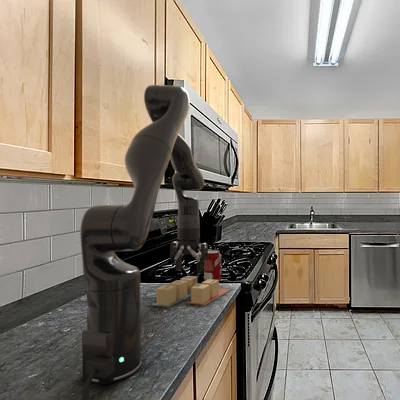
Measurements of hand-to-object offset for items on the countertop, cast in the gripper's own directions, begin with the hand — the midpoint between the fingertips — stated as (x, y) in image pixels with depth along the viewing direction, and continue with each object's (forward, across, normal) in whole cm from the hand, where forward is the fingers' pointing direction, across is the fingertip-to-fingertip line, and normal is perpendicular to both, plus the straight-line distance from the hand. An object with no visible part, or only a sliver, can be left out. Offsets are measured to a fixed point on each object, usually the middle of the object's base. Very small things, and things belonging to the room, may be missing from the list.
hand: (189, 271), depth 111 cm
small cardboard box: (+7, 0, 0) cm, 7 cm away
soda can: (+8, 0, +16) cm, 18 cm away
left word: (+8, 0, -6) cm, 10 cm away
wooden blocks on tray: (+8, +10, -2) cm, 13 cm away
